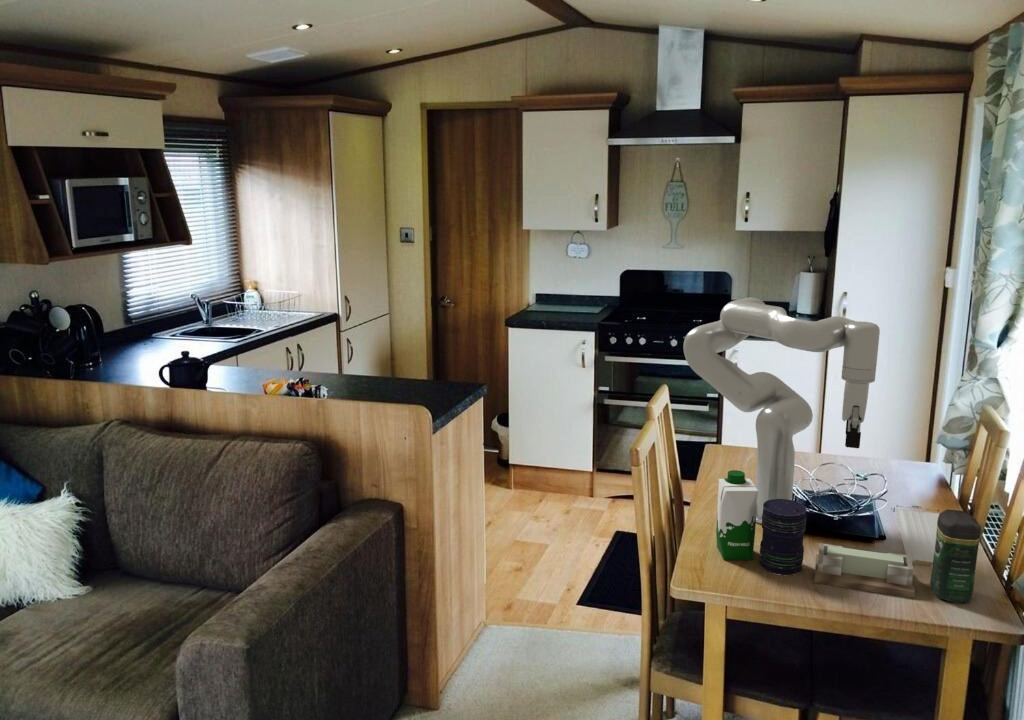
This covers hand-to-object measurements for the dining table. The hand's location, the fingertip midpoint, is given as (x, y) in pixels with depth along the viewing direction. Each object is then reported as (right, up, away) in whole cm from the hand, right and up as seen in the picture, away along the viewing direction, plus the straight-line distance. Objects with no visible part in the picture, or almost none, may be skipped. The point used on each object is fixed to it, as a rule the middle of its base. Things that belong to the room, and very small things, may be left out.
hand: (852, 441), depth 209 cm
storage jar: (-20, -29, -7) cm, 36 cm away
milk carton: (-29, -28, -1) cm, 40 cm away
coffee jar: (+14, -32, -21) cm, 40 cm away
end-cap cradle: (-3, -30, -13) cm, 33 cm away
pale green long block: (-3, -29, -14) cm, 32 cm away
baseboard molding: (+20, -26, +7) cm, 34 cm away
